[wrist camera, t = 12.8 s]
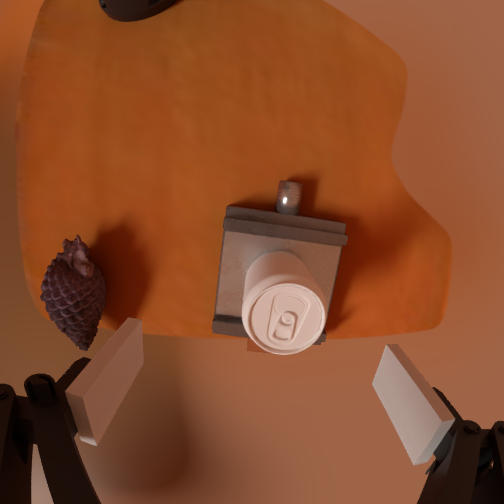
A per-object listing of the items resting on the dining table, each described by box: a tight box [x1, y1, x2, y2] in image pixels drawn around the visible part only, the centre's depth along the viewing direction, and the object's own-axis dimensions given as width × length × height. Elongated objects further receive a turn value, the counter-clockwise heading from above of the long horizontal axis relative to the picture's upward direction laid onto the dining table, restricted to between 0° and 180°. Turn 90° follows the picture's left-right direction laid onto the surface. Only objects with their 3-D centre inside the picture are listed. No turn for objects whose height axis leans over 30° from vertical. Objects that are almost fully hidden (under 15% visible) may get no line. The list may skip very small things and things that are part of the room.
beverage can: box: [242, 251, 328, 355], centre depth 32 cm, size 8×8×12 cm
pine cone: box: [40, 235, 106, 351], centre depth 37 cm, size 18×10×10 cm, turn 176°
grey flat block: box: [212, 181, 348, 354], centre depth 39 cm, size 23×15×4 cm, turn 172°
